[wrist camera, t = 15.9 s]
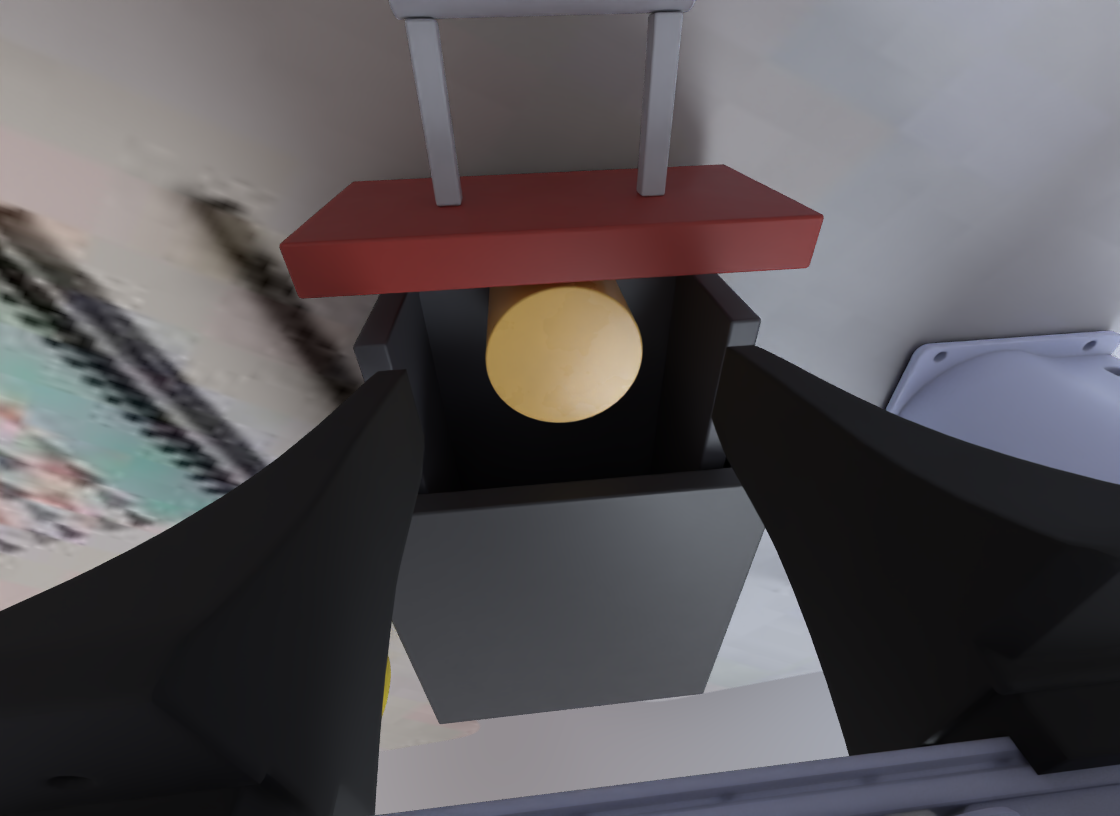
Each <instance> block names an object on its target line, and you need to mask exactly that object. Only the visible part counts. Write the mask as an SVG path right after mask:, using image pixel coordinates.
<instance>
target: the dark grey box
mask: <svg viewBox="0 0 1120 816" xmlns="http://www.w3.org/2000/svg"><path fill="white" fill-rule="evenodd" d="M764 529H765V526H764V525H763V523H762V521H761V519H760V517H759V516H758V514H757V512H756V510H755V508H754V507H753V505H752V503H751V501H750V499H749V498H748V496H747V494H746V492H745V490H744V489H743V487H742V485H741V483H740V481H739V480H738V478H737V476H736V474H735V472H734V470H733V468H732V467H731V465H730V463H729V461H728V459H727V457H726V458H725V462H724V466H723V468H720V469H708V470H697V471H685V472H674V473H662V474H651V475H639V476H627V477H616V478H604V479H593V480H581V481H570V482H558V483H546V484H535V485H523V486H512V487H500V488H489V489H477V490H466V491H454V492H442V493H431V494H419V495H417V499H416V503H415V507H414V512H413V516H412V520H411V524H410V528H409V532H408V536H407V540H406V544H405V548H404V552H403V557H402V561H401V565H400V570H399V575H398V580H397V585H396V592H395V600H394V608H393V615H392V622H393V624H394V627H395V629H396V631H397V633H398V635H399V637H400V640H401V642H402V644H403V646H404V648H405V650H406V653H407V655H408V657H409V659H410V661H411V663H412V666H413V668H414V670H415V672H416V674H417V676H418V679H419V681H420V683H421V685H422V687H423V689H424V692H425V694H426V696H427V698H428V700H429V702H430V705H431V707H432V709H433V711H434V713H435V715H436V718H437V720H438V722H439V724H446V723H454V722H463V721H472V720H480V719H488V718H497V717H506V716H514V715H523V714H532V713H540V712H548V711H558V710H566V709H575V708H584V707H592V706H601V705H609V704H618V703H626V702H635V701H644V700H653V699H661V698H670V697H678V696H687V695H696V694H702V693H703V692H704V690H705V687H706V684H707V682H708V679H709V676H710V674H711V671H712V668H713V666H714V663H715V660H716V658H717V655H718V652H719V649H720V647H721V644H722V641H723V639H724V636H725V633H726V631H727V628H728V625H729V623H730V620H731V617H732V615H733V612H734V609H735V607H736V604H737V601H738V599H739V596H740V593H741V591H742V588H743V585H744V583H745V580H746V577H747V575H748V572H749V569H750V567H751V564H752V561H753V558H754V556H755V553H756V550H757V548H758V545H759V542H760V540H761V537H762V534H763V532H764Z"/></svg>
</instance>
